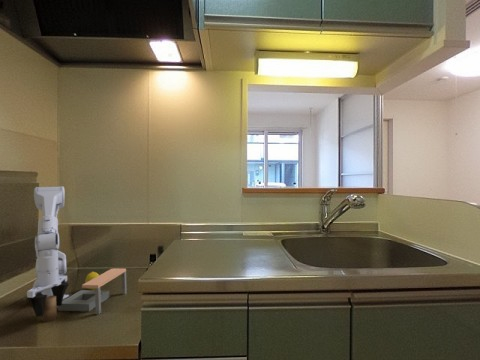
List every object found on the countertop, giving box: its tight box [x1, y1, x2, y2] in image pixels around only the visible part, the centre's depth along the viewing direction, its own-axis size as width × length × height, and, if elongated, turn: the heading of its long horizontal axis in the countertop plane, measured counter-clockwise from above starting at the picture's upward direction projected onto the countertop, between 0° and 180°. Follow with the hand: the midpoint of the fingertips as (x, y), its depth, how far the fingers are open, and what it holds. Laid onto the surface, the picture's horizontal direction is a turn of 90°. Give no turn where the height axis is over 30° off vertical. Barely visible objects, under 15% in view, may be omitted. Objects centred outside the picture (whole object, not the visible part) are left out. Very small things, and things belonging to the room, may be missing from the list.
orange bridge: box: [81, 267, 128, 315], centre depth 104 cm, size 6×18×10 cm, turn 173°
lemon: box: [84, 271, 100, 290], centre depth 117 cm, size 6×6×8 cm
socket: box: [57, 289, 110, 312], centre depth 104 cm, size 12×12×2 cm
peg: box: [41, 296, 58, 323], centre depth 93 cm, size 4×4×7 cm
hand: (49, 310), depth 93 cm, fingers open, 7 cm apart
